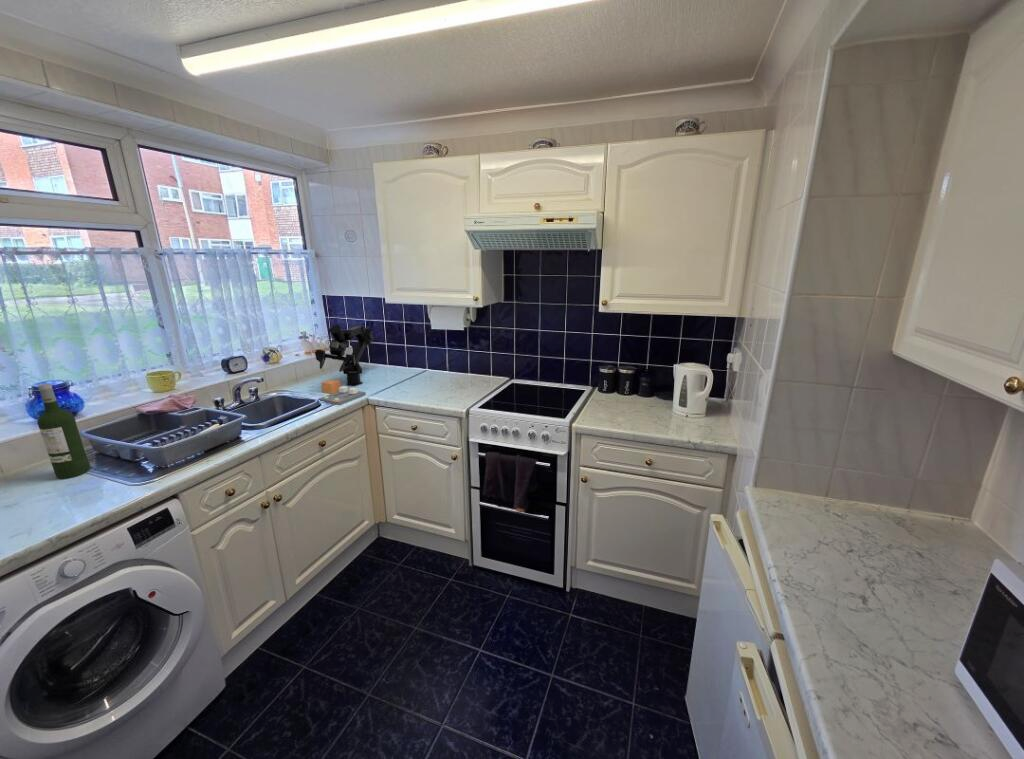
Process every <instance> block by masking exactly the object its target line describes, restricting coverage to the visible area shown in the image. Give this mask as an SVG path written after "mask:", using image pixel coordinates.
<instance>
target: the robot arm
mask: <svg viewBox="0 0 1024 759" xmlns="http://www.w3.org/2000/svg"><path fill="white" fill-rule="evenodd" d="M328 332H329V334H330V336H331V338H332V340H333V341H331V340H330V342H329V345H328V348H329V353H328V352H327V353H326V351H325V350H322V349H316V350H315V352H314V355H315V359H316V361H318V362H319V369H320V370H322V368H323V366H324V364H325V363H326V362H325V361H326V358H327V359H331V360H335V361H341V362H342V363H341V365H340V367H339V372H340V373H341V372H343V375H346V381H347V382H346V383H345V385H346V386H352V387H355V386H358V385H361V384H362V385H363V381H361V374H363V368H362V367H361V365H360V360H361V357H362V355H363V353H364V351H365V349H366V347H367V346H369V345H371V343H372V342H373V341H374V334H373V333H372V331H371V330H369V329H368V328H366V325H355V326H353V327H350V328H348V329H342V327H341V325H340V324H334V326H331V327H330V328H328ZM355 338H356V339H357V343H356V344H355V347H354V349H353V351H352V353H351V354H349V353H346V352H345V351H346V349H350V344H349V341H353V340H354V339H355ZM345 353H346V354H345Z"/></svg>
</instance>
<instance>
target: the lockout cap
mask: <svg viewBox="0 0 1024 759" xmlns="http://www.w3.org/2000/svg"><path fill="white" fill-rule="evenodd" d="M320 384H321V390H322V391H321V392H322V393H323V394H327V395H330V394H333V393H336V392H338V391H339V387H342V385H341V380H338V379H328V380H325V381H324V380H323V381H321V382H320Z"/></svg>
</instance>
